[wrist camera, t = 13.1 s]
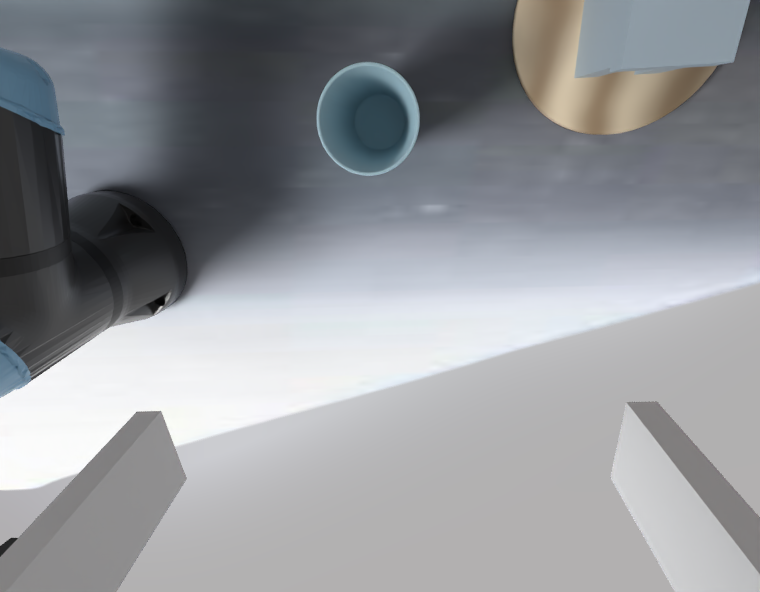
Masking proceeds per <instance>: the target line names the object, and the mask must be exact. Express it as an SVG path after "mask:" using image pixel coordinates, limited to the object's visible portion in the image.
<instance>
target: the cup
mask: <svg viewBox="0 0 760 592" xmlns="http://www.w3.org/2000/svg"><path fill="white" fill-rule="evenodd" d="M419 126H420V112H419V106H418V102H417V99H416V96H415V94H414V92H413V90H412V88H411V87H410V85H409V84H408V82H407V81H406V80H405V79H404V78H403V77H402V76H401V75H400V74H399V73H398V72H397V71H395V70H394V69H392V68H390V67H388V66H386V65H383V64H380V63H376V62H360V63H355V64H352V65H349V66H347V67H345V68H344V69H342V70H340V71H339V72H338V73H336V74H335V75H334V76H333V77H332V78H331V80H330V81H329V82H328V83H327V85H326V86H325V88H324V90H323V92H322V94H321V96H320V99H319V103H318V108H317V129H318V133H319V137H320V140H321V142H322V145H323V147H324V148H325V150H326V152H327V153H328V155H329V156H330V157H331V158H332V159H333V160H334V161H335V162H336V163H337V164H338V165H339V166H341V167H342V168H344V169H345V170H347V171H349V172H352V173H355V174H358V175H364V176H372V175H379V174H383V173H386V172H388V171H390V170H392V169H394V168H395V167H397V166H398V165H399V164H401V163H402V162H403V161H404V160H405V159H406V158H407V156H408V155H409V154H410V152H411V150H412V149H413V147H414V145H415V142H416V140H417V137H418V133H419Z"/></svg>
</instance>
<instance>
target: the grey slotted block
mask: <svg viewBox="0 0 760 592" xmlns="http://www.w3.org/2000/svg"><path fill="white" fill-rule="evenodd" d="M749 3H750V0H584V7H583V15H582V22H581V30H580V37H579V45H578V53H577V60H576V68H575V76H574V78H588V77H599V76H603V75H607V74H611V73H614V72H623V71H635V73H634V75H637V74H654V73H662V72H667V71H671V70H676V69H681V68H688V67H705V66H717V65H722V64H727V63H732V62H734V59H735V55H736V52H737V48H738V44H739V41H740V37H741V33H742V29H743V26H744V22H745V18H746V15H747V11H748V7H749Z"/></svg>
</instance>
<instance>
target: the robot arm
mask: <svg viewBox="0 0 760 592" xmlns="http://www.w3.org/2000/svg"><path fill="white" fill-rule="evenodd" d="M62 135H65V133H64V129H63V128H62V127H61V126H60V121H59V115H58V108H57V102H56V95H55V89H54V85H53V82H52V80H51V78H50V76H49V75H48V74H47V72H46V71H45V70H44V69H43V68H42V67H41V66H40V65H39V64H37V63H36V62H35V61H33V60H32V59H30V58H28V57H26V56H24V55H21V54H19V53H16V52H13V51H10V50H7V49H3V48H0V398H1V397H3V396H5V395H6V394H8V393H10V392H11V391H13V390H15V389H20V388H22V387H24V386H25V385H27V384H28V383H29V382H30V381H31V380H33V379H34V378H36V377H37V376H39V375H40V374H42V373H43V372H45V371H46V370H47V369H49V368H50V367H52V366H53V365H55V364H56V363H58V362H59V361H61V360H62V359H64V358H65V357H66V356H68V355H69V354H71V353H72V352H74V351H75V350H77V349H78V348H80V347H81V346H82V345H84V344H85V343H87V342H88V341H90V340H91V339H93V338H94V337H96V336H97V335H99V334H100V333H101V332H103V331H104V330H106V329H107V328H109V327H112V326H116V325H121V324H125V323H130V322H134V321H139V320H143V319H147V318H150V317H152V316H154V315H156V314H158V313H160V312H161V311H163V310H164V309H165V308H167V307H168V306H170V305H171V304H172V303H173V302H174V301H175V300H176V299H177V298H178V297H179V296H180V294H181V292H182V290H183V288H184V285H185V282H186V276H187V263H186V257H185V253H184V250H183V247H182V245H181V242H180V240H179V238H178V236H177V235H176V233H175V231H174V230H173V228H172V227H171V226H170V224H169V223H168V222H167V221H166V220H165V219H164V218H163V217H162V216H161V215H160V214H159V213H158V212H157V211H156V210H155V209H153V208H152V207H151V206H149V205H148V204H146V203H145V202H143V201H141V200H139V199H137V198H135V197H133V196H130V195H128V194H124V193H121V192H115V191H98V192H92V193H88V194H83V195H79V196H76V197H73V198H71V199H69V200H68V197H67V186H66V174H65V163H64V152H63V140H62ZM611 480H612V482H613V483H614V485H615V487H616V489H617V490H618V492H619V494H620V496H621V497H622V499H623V501H624V503H625V504H626V506H627V508H628V510H629V512H630V513H631V515H632V517H633V518H634V520H635V522H636V524H637V525H638V527H639V529H640V531H641V533H642V535H643V536H644V538H645V540H646V542H647V543H648V545H649V547H650V549H651V550H652V552H653V554H654V556H655V557H656V559H657V561H658V563H659V565H660V566H661V568H662V570H663V572H664V573H665V575H666V577H667V579H668V580H669V582H670V584H671V586H672V587H673V589H674V591H675V592H760V517H759V516H758V515H757V514H756V513H755V512H754V510H753V509H752V508H751V507H750V506H749V505H748V504H747V503H746V502H745V500H744V499H743V498H742V497H741V496H740V495H739V494H738V492H737V491H736V490H735V489H734V488H733V487H732V486H731V485H730V483H729V482H728V481H727V480H726V479H725V478H724V477H723V475H722V474H721V473H720V472H719V471H718V470H717V469H716V468H715V467H714V465H713V464H712V463H711V462H710V461H709V460H708V459H707V457H706V456H705V455H704V454H703V453H702V452H701V451H700V450H699V449H698V447H697V446H696V445H695V444H694V443H693V442H692V441H691V439H690V438H689V437H688V436H687V435H686V434H685V433H684V432H683V430H682V429H681V428H680V427H679V426H678V425H677V424H676V423H675V422H674V420H673V419H672V418H671V417H670V416H669V415H668V414H667V413H666V411H665V410H664V409H663V408H662V407H661V406H660V404H659V403H658V402H627V403H626V407H625V412H624V416H623V421H622V426H621V430H620V435H619V440H618V445H617V449H616V454H615V459H614V463H613V468H612V473H611ZM185 481H186V476H185V473H184V470H183V468H182V465H181V463H180V460H179V457H178V455H177V452H176V449H175V447H174V444H173V441H172V439H171V436H170V434H169V431H168V428H167V426H166V423H165V420H164V418H163V415H162V412H161V411H150V412H136V413H135V414H134V415H133V416H132V418H131V419H130V420H129V421H128V422H127V423H126V424H125V425H124V426H123V427H122V428H121V429H120V430H119V431H118V432H117V433H116V435H115V436H114V437H113V438H112V439H111V440H110V441H109V442H108V443H107V444H106V445H105V446H104V447H103V448H102V449H101V451H100V452H99V453H98V454H97V455H96V456H95V457H94V458H93V459H92V460H91V461H90V462H89V463H88V464H87V465H86V466H85V468H84V469H83V470H82V471H81V472H80V473H79V474H78V475H77V476H76V477H75V478H74V479H73V480H72V482H70V484H69V485H68V486H67V487H66V488H65V489H64V490H63V491H62V492H61V493H60V494H59V495H58V496H57V497H56V498H55V499H54V501H53V502H52V503H51V504H50V505H49V506H48V507H47V508H46V509H45V510H44V511H43V512H42V513H41V514H40V516H38V518H37V519H36V520H35V521H34V522H33V523H32V524H31V525H30V526H29V527H28V528H27V529H26V530H25V532H23V533H22V535H21V536H20V537H19V538H10V539H9V540H8V541H6V542H5V543H4V544H2V545H1V546H0V592H116V591H117V590H118V588H119V587H120V585H121V583H122V582H123V580H124V578H125V577H126V575H127V573H128V572H129V571H130V569H131V567H132V566H133V564H134V562H135V561H136V559H137V558H138V556H139V554H140V553H141V551H142V550H143V548H144V546H145V545H146V543H147V542H148V540H149V538H150V537H151V535H152V534H153V532H154V530H155V529H156V527H157V526H158V524H159V522H160V521H161V519H162V518H163V516H164V514H165V513H166V511H167V510H168V508H169V506H170V504H171V503H172V501H173V500H174V498H175V497H176V495H177V494H178V492H179V490H180V489H181V487H182V486H183V484H184V482H185Z"/></svg>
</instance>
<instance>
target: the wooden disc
mask: <svg viewBox="0 0 760 592" xmlns="http://www.w3.org/2000/svg"><path fill="white" fill-rule="evenodd" d="M583 7H584V0H517V4H516V8H515V12H514V20H513V28H512V48H513V57H514V63H515V67H516V71H517V75H518V77H519V80H520V83H521V85H522V87H523V89H524V91H525V93H526V95H527V96H528V98H529V99H530V101H531V102H532V103H533V105H534V106H535V107H536V108H537V109H538V110H539V111H540V112H541V113H542V114H543V115H544V116H545V117H547V118H548V119H549V120H551V121H552V122H554V123H555V124H557V125H559V126H561V127H563V128H566V129H569V130H572V131H575V132H580V133H586V134H602V135H608V134H617V133H623V132H627V131H631V130H635V129H638V128H640V127H643V126H646V125H648V124H650V123H652V122H654V121H656V120H658V119H660V118H662V117H664V116H665V115H667V114H668V113H670V112H672V111H673V110H675V109H676V108H677V107H679V106H680V105H681V104H682V103H684V102H685V101H686V100H687V99H689V98H690V97H691V96H692V95H693V94H694V93H695V92H696V91H697V90H698V89H699V88H700V87H701V86H702V85H703V83H704V82H705V81H706V80H707V79H708V78H709V76H710V75H711V74H712V73H713V71H714V70H715V68H716V67H717V66H718V65H717V66H705V67H688V68H681V69H676V70H671V71H667V72H662V73H654V74H637V75H634V73H635V71H623V72H614V73H611V74H607V75H603V76H599V77H588V78H574V76H575V68H576V60H577V53H578V45H579V37H580V30H581V22H582V15H583Z"/></svg>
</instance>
